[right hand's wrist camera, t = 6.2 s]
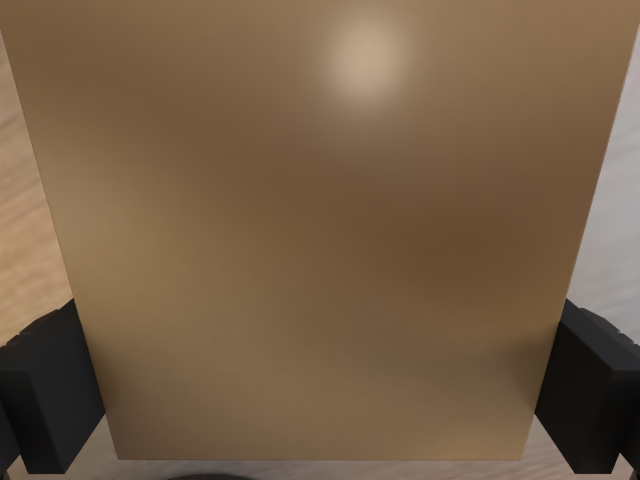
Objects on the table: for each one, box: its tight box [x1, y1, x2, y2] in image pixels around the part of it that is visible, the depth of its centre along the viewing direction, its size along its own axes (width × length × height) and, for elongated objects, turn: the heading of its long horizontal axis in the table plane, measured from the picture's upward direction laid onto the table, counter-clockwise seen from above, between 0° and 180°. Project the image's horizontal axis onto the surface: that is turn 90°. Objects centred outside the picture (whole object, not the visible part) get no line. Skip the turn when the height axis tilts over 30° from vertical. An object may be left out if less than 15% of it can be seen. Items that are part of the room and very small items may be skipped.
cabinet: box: [0, 0, 640, 460], centre depth 12 cm, size 17×11×11 cm, turn 0°
